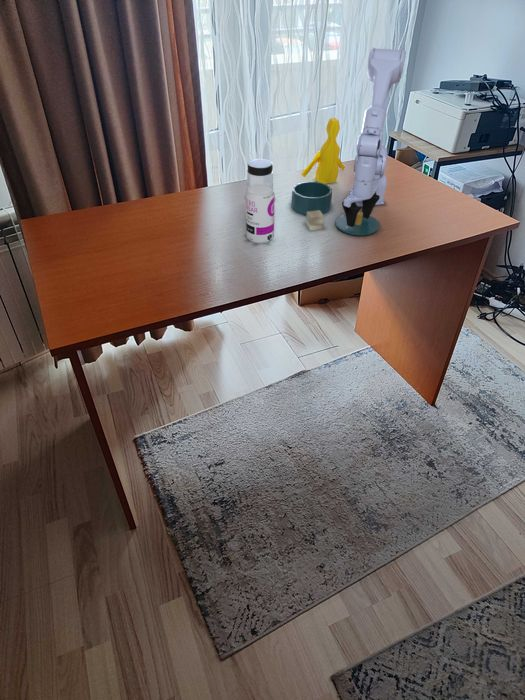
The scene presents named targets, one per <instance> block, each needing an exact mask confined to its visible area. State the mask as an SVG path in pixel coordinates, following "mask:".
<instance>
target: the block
mask: <svg viewBox="0 0 525 700" xmlns="http://www.w3.org/2000/svg"><path fill="white" fill-rule="evenodd" d="M305 219H306V220H305V225H306V227H307V228H308V230H309V231H317V230H323V229H324V222H325V221H324V220H325V215H324V214H322V213H321V211H320V210H317V211H308V212H307V216H306V218H305Z"/></svg>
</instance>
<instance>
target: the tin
mask: <svg viewBox="0 0 525 700" xmlns="http://www.w3.org/2000/svg"><path fill="white" fill-rule="evenodd" d="M332 199H333V188H332V187H331V185H328V184H324V183H321V182H317V181H311V180H309V181H302V182H299V183H296V184H294V186H292V189H291V209H292V211H293V212H295V213H297V214H299V215H301V216H306V217H307V212H308V211H317V210H320V211H321V213H322V214H323V215H325V214H327V213H329V211H331V208H332V207H331V206H332Z"/></svg>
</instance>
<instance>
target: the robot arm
mask: <svg viewBox="0 0 525 700" xmlns="http://www.w3.org/2000/svg"><path fill="white" fill-rule="evenodd" d="M406 54H407V52H406V50H405V49H390V48H375V47H372V48H371V49H370V50H369V53H368V59H367V66H366V71H367V77H368V81H370V82H371V83H373V84H372V94H371V103H370V106H369V107H367V108H366V109H365V111H364V116H363V123H362V126H361V132H360V135H358V138H357V142H356V149H355V159H354V162H353V163H354V164H353V172H354V178H353V186H352V188H350V189H349V192H350V193H349V194H348V196H347V197H346V198H344V199H343V201H342V203H341V207H342V209H343V211H344V214H346V220H347V225H349V226H351V227H353V226H354V224H355V220H356V216H357V214H358V212H359V211H360V209H361V212H363V217H364V218H367V219H368V218H369V216H371V214H372V212H373V209H374V208H375V206H381V205H385V202H384V201H385V196H386V190H387V177H386V175H385V172H386V167H387V162H388V154H389V152H388V149H387V148H386V147H385V146H384V145H383V137H384V136H383V134H384V126H385V123H386V122H385V121H386V117H387V108H388V102H389V98H390V97H389V96H390V92H391V90H392V88H393V85H394V84H397V83H399V82H401V81H400V80H401V79H402V75H403V71H404V66H405V61H406Z"/></svg>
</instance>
